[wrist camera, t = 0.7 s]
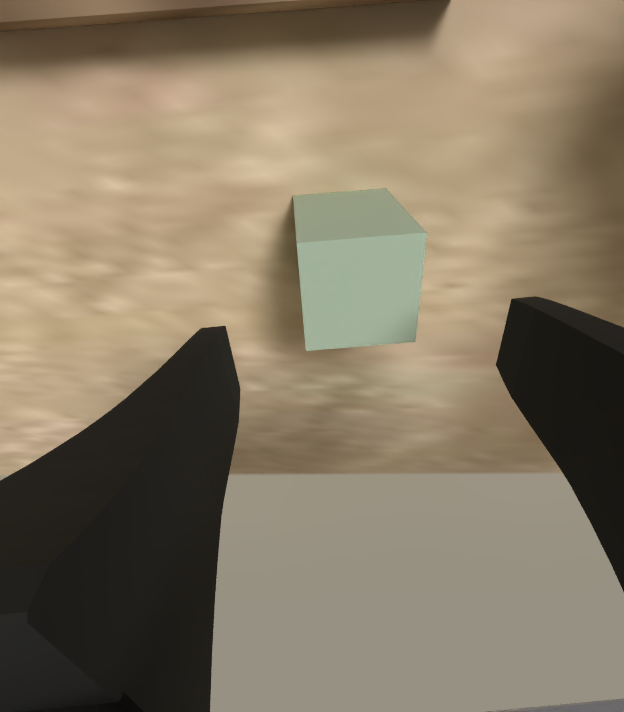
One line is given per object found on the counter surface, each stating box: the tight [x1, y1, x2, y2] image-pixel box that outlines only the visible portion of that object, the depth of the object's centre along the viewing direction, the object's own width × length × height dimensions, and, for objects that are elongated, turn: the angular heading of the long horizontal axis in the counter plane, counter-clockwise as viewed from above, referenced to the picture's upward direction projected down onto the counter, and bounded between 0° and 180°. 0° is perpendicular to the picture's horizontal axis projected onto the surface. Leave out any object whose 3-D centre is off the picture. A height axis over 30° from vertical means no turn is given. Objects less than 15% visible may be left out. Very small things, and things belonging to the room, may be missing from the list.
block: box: [293, 188, 427, 351], centre depth 16 cm, size 4×4×6 cm
